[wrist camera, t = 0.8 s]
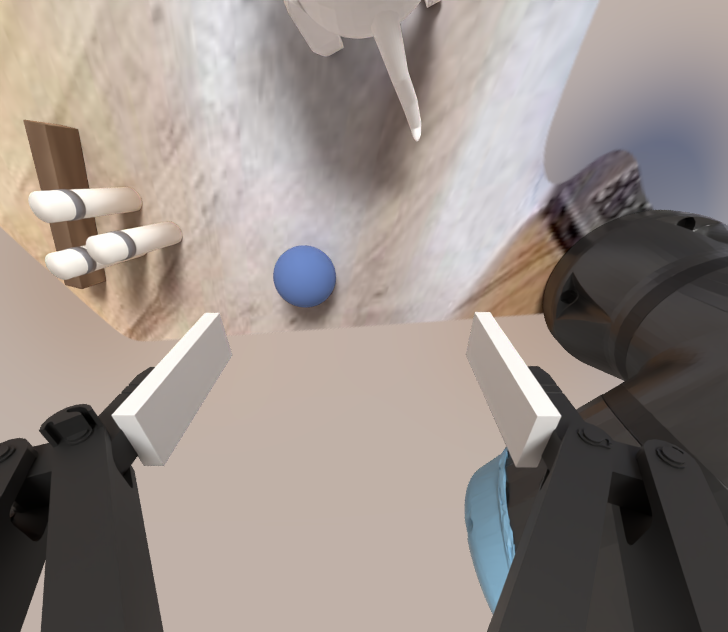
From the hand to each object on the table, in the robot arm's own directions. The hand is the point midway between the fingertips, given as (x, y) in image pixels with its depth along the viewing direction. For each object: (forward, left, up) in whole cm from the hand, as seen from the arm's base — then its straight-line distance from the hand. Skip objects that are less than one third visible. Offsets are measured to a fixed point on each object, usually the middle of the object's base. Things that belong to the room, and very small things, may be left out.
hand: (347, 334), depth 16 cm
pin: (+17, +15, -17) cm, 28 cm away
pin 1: (+22, +16, -17) cm, 31 cm away
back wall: (+25, +21, -17) cm, 36 cm away
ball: (+3, +6, -14) cm, 15 cm away
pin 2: (+19, +20, -17) cm, 32 cm away
